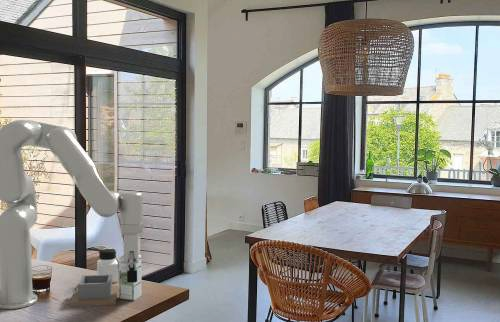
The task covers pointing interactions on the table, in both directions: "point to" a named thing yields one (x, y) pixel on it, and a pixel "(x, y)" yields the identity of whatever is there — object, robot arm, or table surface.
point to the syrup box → (133, 288)
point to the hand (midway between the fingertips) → (133, 277)
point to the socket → (95, 291)
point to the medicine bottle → (108, 263)
